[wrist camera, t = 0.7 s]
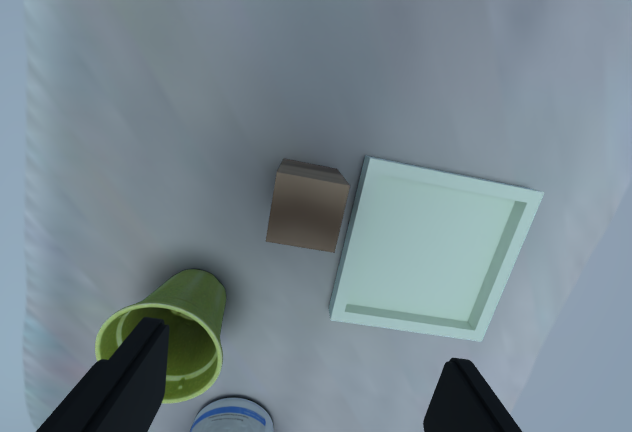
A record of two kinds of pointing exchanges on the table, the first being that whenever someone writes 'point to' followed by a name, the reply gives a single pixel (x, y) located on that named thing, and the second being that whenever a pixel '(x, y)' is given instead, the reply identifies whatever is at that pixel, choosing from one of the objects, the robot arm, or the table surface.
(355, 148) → the table surface
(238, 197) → the table surface
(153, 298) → the plant pot
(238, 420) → the supplement tub
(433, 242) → the sage tray
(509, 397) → the table surface
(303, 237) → the walnut block
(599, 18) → the table surface
